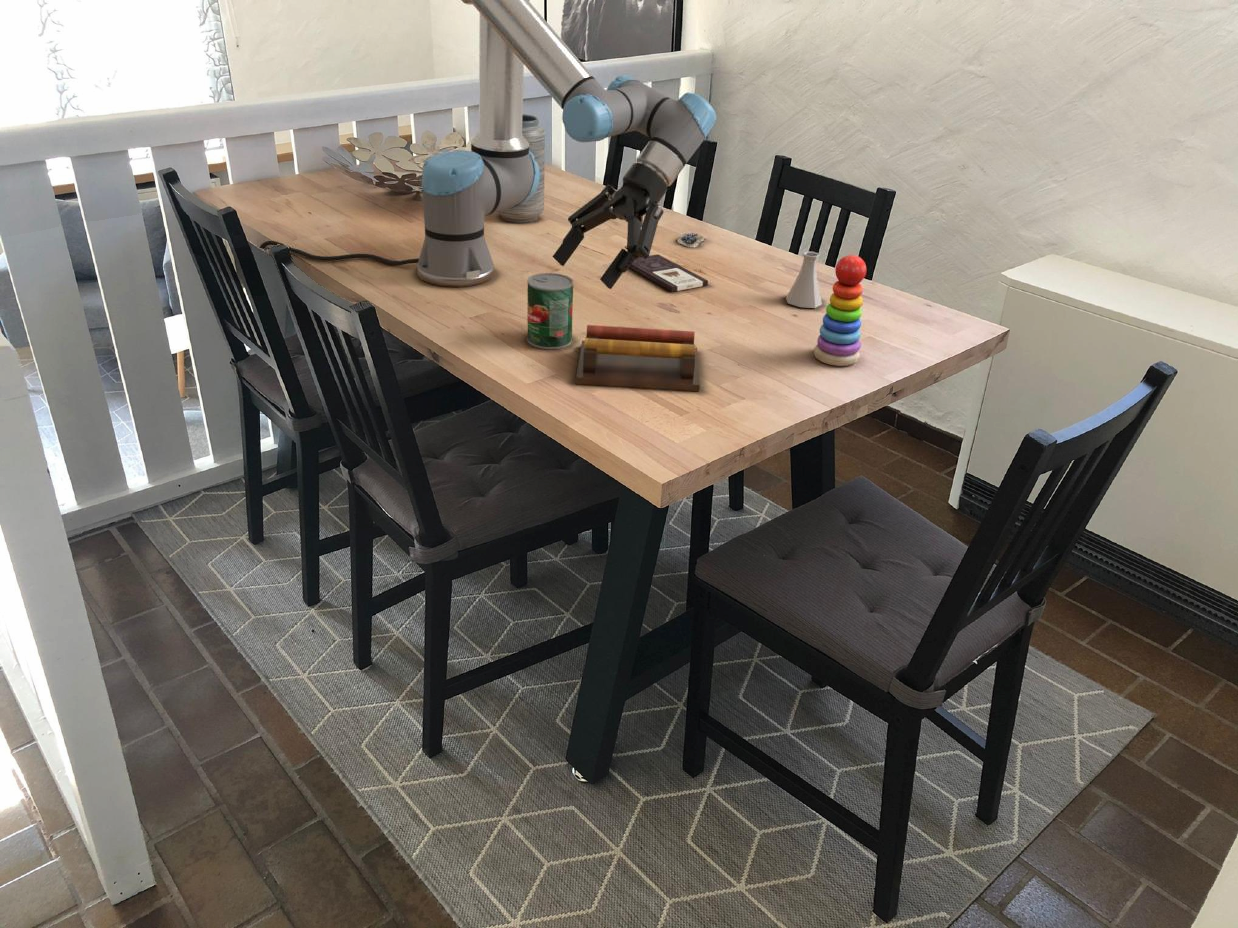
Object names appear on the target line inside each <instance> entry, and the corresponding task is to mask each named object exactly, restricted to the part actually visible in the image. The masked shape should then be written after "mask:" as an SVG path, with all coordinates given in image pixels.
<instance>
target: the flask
mask: <svg viewBox="0 0 1238 928" xmlns="http://www.w3.org/2000/svg"><path fill="white" fill-rule="evenodd" d="M802 257H803V261H802V265H801V267H800V270H799V273H798V275H797V277H796V279H795V280H794V283H793V284H792V286H791V287H790V289H789V291H788V293H787V295H786V298H785V299H786V302H787V304H789V305H792V306H794V307H798V308H809V309H817V308H818V307H820V306H822V305H823V302H822V297H821V293H820V286H819V280H818V274H817V273H818V272H817V263H818V259H819V258H820V254H819V252H815V251H807V250H806V251H804V252H802Z"/></svg>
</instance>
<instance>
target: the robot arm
mask: <svg viewBox="0 0 1238 928" xmlns="http://www.w3.org/2000/svg"><path fill="white" fill-rule="evenodd" d="M461 2H462V3H463V4H465V5H468V6H469V5H472V6H473V7H474V8H475V9H476V10H477V12H478V13H479V17H478V19H479V23H478V24H479V26H478V27H479V28H478V29H479V31H478V39H479V41H478V42H479V43H478V46H479V47H478V48H479V49H478V133H477V134H476V135H475V136H474V137H473V138H472V139H471V140H470V150H465V149H464V150H463V149H455V150H452V151H449V150H447V151H441V152H438V153H436V154H433V155H431V156H430V157H428V158H427V159H426V160H425V161H424V163H423V164H422V171H421V172H422V175H421V176H422V177H421V184H420V185H421V189H422V205H423V221H424V240H423V243H422V247H421V250H420V254H419V258H418V257H417V258H410V259H409V258H407V259H403V260H393V259H388V258H385V257H382V256H379V255H376V254H372V253H371V254H370V253H350V254H341V255H332V256H331V255H330V256H324V255H323V256H322V255H317V254H316V255H315V254H312V253H309V252H306V251H304V250H301V249H298V248H294V247H291V246H288V245H287V246H288V247H289V250H290V251H291V252H290V251H289V252H290V253H294V254H297V255H299V256H303V257H304V258H307V259H310V260H314V261H322V262H333V261H335V262H336V261H344V260H351V259H370V260H374V261H378V262H380V263H384V264H386V265H391V266H405V265H411V264H416V266H417V277H419V279H420V280H422V281H424V282H426V283H428V284H432V285H434V286H435V285H436V286H442V287H449V288H450V287H451V288H452V287H458V288H459V287H471V286H476V285H480V284H483V283H486V282H488V281H490V280H491V279H492V278H493V277H494V275H495V264H494V261H493V258H492V255H491V253H490V249H489V246H488V243H487V241H486V238H485V217H486V216H490V215H493V214H495V213H498V212H500V211H503V210H506V209H512V208H515V207H517V206H519V205H520V204H523V203H525V202H527V201H528V200H529V199H530V198H531V197H532V196H533V195H534V193H535V192H536V190H537V187H538V184H539V167H538V163H537V162H535V160H534V159H535V157H534V155H533V154H532V153H531V152H530V151H529V143H528V141H527V140H526V139H525V138H524V137H523V135H522V114H524V113H523V111H524V76H525V75H524V74H525V73H524V71H525V67H526V69H527V70H528V71H529V73H531V75H533V77H534V78H535V79H536V80H537V82H539V84H540V86H542V87H543V89H544V90H545V91H546V92H547V93H548V94H549V96H551V98H552V99H553V100H554V101H555V102H556V104H557V105H558V106H559V107H560V108H561V110H562V114H561V115H562V116H561V121H562V124H563V126H564V128H565V129H564V130H565V132H566V134H567V135H568V137H570V138H571V139H572V140H574V141H575V142H578V143H591V142H601V141H603V140H605V139H607V138H610V137H611V138H612V137H614V136H619V135H623V134H627V133H630V132H639V133H640V134H642V135H644V136H645V137H648V138H650V140H649V141H648V142H647V144H646V145H645V147H644V148H643V149H642V151H641V152H640V153H639V154H638V156H637V157H636V159H635V161H636V162H634V163H632V165H631V166H630V167H629V169H628V170H627V172H626V173H625V174H624V176H623V177H622V186H621V187H620V188H619V189H618V190H617V189H615V188H614V187H613V186H612V185H611V184H610V183H609V184H607V185H605V186H604V187H603V189H602V190H601V191H600V193H598V194H597V195H595V197H593V198H592V199H590V200H589V201H588V202H586V203H585V204H583V206H581V207H580V208H578V209H577V210H576V211H574V212H573V213H572V214H571V215H569V216H568V218H567V221H568V222H569V223H570V225H571V228H570V229H569V231H567V232H568V233H566V235H565V237H564V238H563V239H562V242H561V244H560V245H559V247H558V248H557V250H556V251H555V252H554V253H553V255H552V258H553V260H555V261H556V262H557V263H558V265H560V266H561V267H564V266H565V265H566V264H567V262H568V261H569V260H570V258H571V257H572V255H573V254H574V252H576V250H577V248H578V247H579V246H580V244H581V243H582V241H584V239H585V234H586V233H587V232H589V231H591V230H593V229H595V228H596V227H599V226H600V225H603V224H605V223H607V222H608V221H611V220H613V221H614V220H616V219H618V220H621V221H624V222H626V223H627V233H626V234H627V236H626V245H625V246H624V248H621V249H620V251H619V252H618V254H617V255H616V256H615V258H613V260H612V262H611V263H610V265H609V266H608V267H607V269H606V270H605V271H604V273H603V274H602V275H601V277H599V280H600V281H601V283H602V284H604V286H605V287H606V288H607V289H609V290H612V289H613V287H615V284H616V283H617V282H618V280H619V279H620V278H621V276H622V274H625V273H626V272H627V271H628V270H629V269H630V268H629V267H630V265H631V264H632V263H633V261H634V260H635V259H637V258H639V257H643V258H644V259H646V258H648V257H649V256H650V253H651V251H652V247H653V243H654V239H655V236H656V231H657V228H658V224H659V222H660V220H661V218H662V216H663V215H664V213H665V211H664V209H662V207H661V206H660V204H659V203H660V201H661V200H662V199H663V197H664V196H665V194H666V193H667V192H668V187H670V186H672V185H673V183H674V182H675V180H676V179H677V178H678V176H679V175H680V173H681V172H682V171H683V169H684V168H685V166H686V165H687V163H688V162H689V160H691V158H692V157H693V156H694V154H695V152H696V151H697V150H698V149H699V147H700V146H701V145H702V143H703V142H704V141H706V139H707V136H708V135H709V133H710V132H711V130H712V128H713V127H714V125H715V123H716V122H717V115H716V111H715V109H714V108H713V106H712V104H710V102H709V101H707V99H705V98H704V97H702V96H701V95H699V94H697V93H695V92H693V93H692V92H689V91H688V92H685V93H683V95H681V97H679V98H678V99H677V100H676V99H674V98H671V97H670V96H669V97H668V96H666V95H665V94H663V93H662V92H660V91H658V90H656V89H654V88H652V87H651V86H649V85H647V84H645V83H644V82H643V81H641V80H639V79H636V78H632V77H631V76H628V75H624V74H623V75H618V76H617V77H615V79H614V80H612V81H611V82H610V83H609V85H608V86H607V88H606V89H605V88H604V87H603V86H602V85H601V83H600V82H599V81H598V80H597V79H596V78H595V77H594V76H593V74H592V73H591V72H590V71H589V70H588V68H587V67H586V66H585V65H584V64H583V63H582V62H581V60H580V59H579V58H578V56H576V55H575V53H574V52H573V51H572V50H571V49H570V47H569V46H568V45H567V44H566V43H565V41H563V39H562V38H561V37H560V36H559V35H558V33H557V32H556V31H555V30H554V29H553V28H552V26H551V25H550V24H549V23H548V22H547V20H545V18H544V17H543V16H542V14H541V13H540V12H539V11H538V10H537V9H536V7H535V6H534V5H533V4H532V3H531V0H461ZM277 244H283V243H282V242H279V241H277V240H267V241H264V242H262V243H261V244H260V245H259V249H265V248H266V247H268V246H275V245H277Z"/></svg>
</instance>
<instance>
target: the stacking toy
mask: <svg viewBox="0 0 1238 928" xmlns="http://www.w3.org/2000/svg"><path fill="white" fill-rule="evenodd" d="M834 271H835V278H837V280H836V281H835V282H834V283H833V285H832V294H831V295H830V297H829V303H828V304H827V305H826V308H825V314H824V315H823V316H822V324H821V326H820V327H819V335H818V337H817V339H816V340H817V341H816V343H817V344H816V345H815V346H814V348H813V355H814V357H815V359H816V360H818V361H820V362H822V363H824V364H827V365H830V366H836V367H847V366H851V365H855V364H856V363H857V362H858V361H859V360H860V358H861V357H860V356H861V353H860V349H861V347H862V342H861V340H860V338H861V330H860V328H861V326H862V320H861V317H862V314H863V311H862V308H861V307H862V306H863V304H864V299H863V297H862V296H861V295H862V294H863V290H864V289H863V286H862V284H861V282H862V281H863V280H864V279H865V277H866V274H867V265H866V262H865V261H864V260H863V258H861V256H858V255H856V254H855V255H853V254H848V255H845V256H843V257H841V258H840V259H839V260H838V262H837V263H836V265H835V270H834Z"/></svg>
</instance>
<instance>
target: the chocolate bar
mask: <svg viewBox="0 0 1238 928" xmlns="http://www.w3.org/2000/svg"><path fill="white" fill-rule="evenodd" d="M628 269H630V270H632V271H634V272H636V273H638V274H640V275H641V276H643V277H645V278H646V279H648V280H650V281H652V282H653V283H656V284H657V285H659V286H661V287H662V288H664V289H666V290H668V291H669V292H672V293H673V292H679V291H683V290H689V289H694V288H700V287H705V286H708V284H709V280H707V279H706V278H704V277H702V276H700V275H699V274H696V273H694V272H693V271H691V270H688V269H687V268H685V267H683V266H681V265H679V264H677V263H676V262H674V261H672V260H670V259H667V258H666V257H664V256H662V255H660V254H659V253H657V254H651V255H649V257H648V258H646V259H644V258H643V257H639V258H637V259H635V260H634V261H633V263H632V264H631V265H630V267H629V268H628Z"/></svg>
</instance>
